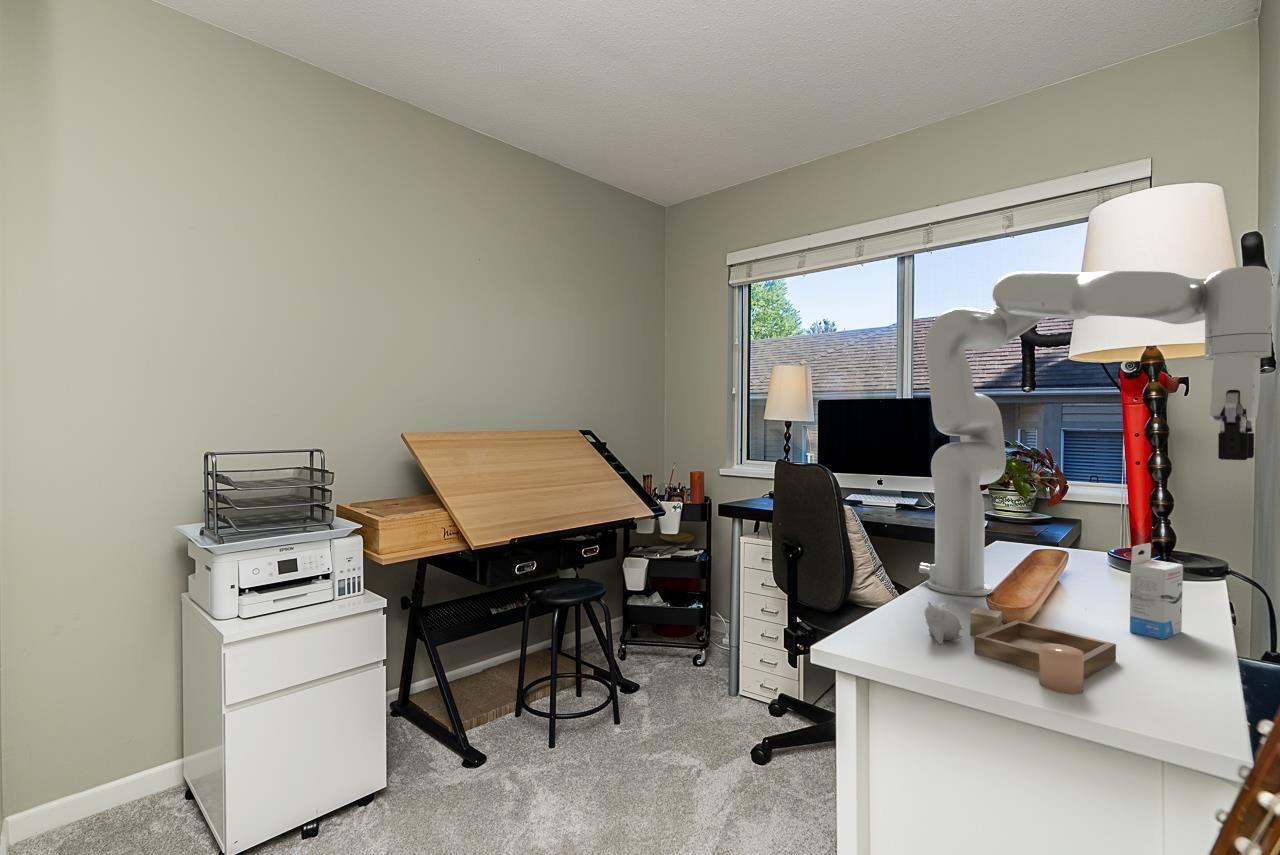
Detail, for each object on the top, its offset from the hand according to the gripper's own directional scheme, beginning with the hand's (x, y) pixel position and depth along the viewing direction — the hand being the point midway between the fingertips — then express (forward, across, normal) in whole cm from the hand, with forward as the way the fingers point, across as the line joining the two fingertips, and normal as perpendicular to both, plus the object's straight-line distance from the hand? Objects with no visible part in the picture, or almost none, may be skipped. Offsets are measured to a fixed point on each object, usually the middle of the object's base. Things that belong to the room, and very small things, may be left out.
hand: (1236, 458), depth 98 cm
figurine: (+31, +29, -33) cm, 53 cm away
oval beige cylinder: (+30, +35, -14) cm, 49 cm away
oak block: (+30, +21, -29) cm, 47 cm away
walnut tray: (+30, +25, -19) cm, 43 cm away
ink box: (+31, -4, -10) cm, 32 cm away
